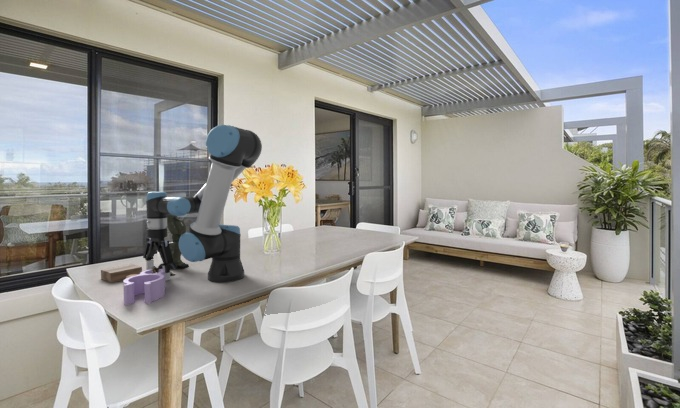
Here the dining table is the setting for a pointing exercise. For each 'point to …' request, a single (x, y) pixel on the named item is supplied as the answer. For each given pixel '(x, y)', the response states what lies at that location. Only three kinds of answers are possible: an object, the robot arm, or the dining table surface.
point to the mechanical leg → (176, 239)
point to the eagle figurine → (155, 269)
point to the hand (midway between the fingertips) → (158, 277)
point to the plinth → (119, 272)
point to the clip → (145, 286)
